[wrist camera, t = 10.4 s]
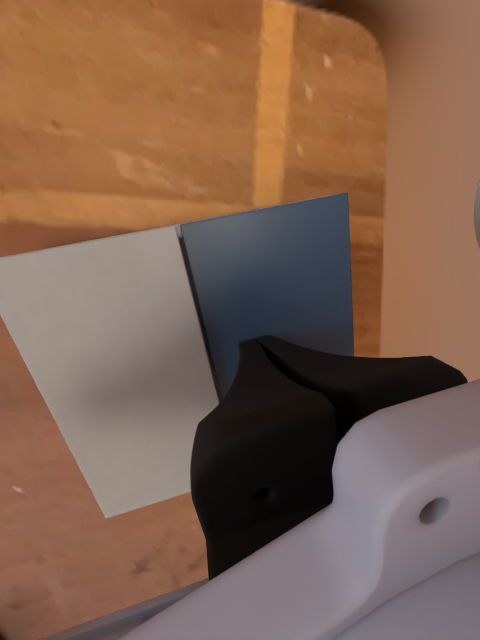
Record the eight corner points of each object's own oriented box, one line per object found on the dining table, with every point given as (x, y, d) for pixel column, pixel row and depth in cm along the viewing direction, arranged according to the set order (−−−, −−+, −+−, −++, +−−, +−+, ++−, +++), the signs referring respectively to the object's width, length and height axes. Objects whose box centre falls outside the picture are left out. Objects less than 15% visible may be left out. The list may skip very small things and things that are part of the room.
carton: (295, 203, 15) (350, 190, 10) (313, 385, 19) (359, 439, 14) (48, 250, 13) (-32, 262, 8) (126, 438, 17) (104, 520, 12)
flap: (343, 193, 10) (348, 192, 10) (353, 433, 14) (357, 439, 14) (180, 224, 10) (179, 224, 10) (238, 464, 14) (239, 470, 14)
